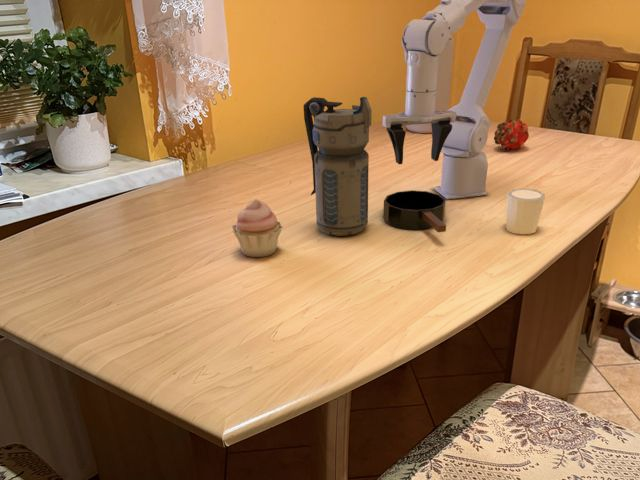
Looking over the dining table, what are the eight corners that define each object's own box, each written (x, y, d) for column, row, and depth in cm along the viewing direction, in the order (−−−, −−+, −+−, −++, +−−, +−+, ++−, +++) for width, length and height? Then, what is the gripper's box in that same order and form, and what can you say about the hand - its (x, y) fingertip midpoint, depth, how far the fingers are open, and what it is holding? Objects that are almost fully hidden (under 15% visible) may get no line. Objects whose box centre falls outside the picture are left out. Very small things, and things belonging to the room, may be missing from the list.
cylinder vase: (404, 133, 191) (408, 41, 178) (406, 124, 201) (411, 36, 188) (447, 134, 189) (454, 41, 176) (447, 124, 199) (453, 36, 186)
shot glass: (540, 224, 126) (546, 189, 122) (538, 237, 120) (544, 201, 117) (504, 221, 128) (509, 187, 124) (501, 233, 122) (506, 198, 119)
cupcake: (243, 265, 113) (237, 211, 108) (228, 247, 120) (222, 195, 115) (292, 255, 116) (289, 202, 111) (274, 238, 123) (271, 187, 118)
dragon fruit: (493, 159, 171) (516, 156, 179) (520, 144, 164) (542, 142, 172) (482, 129, 171) (506, 128, 179) (508, 113, 164) (532, 112, 172)
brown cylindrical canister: (321, 215, 133) (318, 88, 120) (379, 224, 128) (382, 92, 115) (296, 231, 126) (290, 98, 113) (356, 242, 120) (357, 103, 107)
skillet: (376, 212, 134) (377, 193, 132) (430, 206, 136) (431, 188, 134) (410, 248, 117) (411, 228, 115) (470, 241, 119) (472, 221, 117)
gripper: (391, 96, 117) (389, 169, 124) (465, 91, 120) (458, 163, 127) (379, 89, 123) (378, 160, 130) (450, 84, 126) (444, 154, 133)
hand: (416, 161), depth 129 cm, fingers open, 7 cm apart
